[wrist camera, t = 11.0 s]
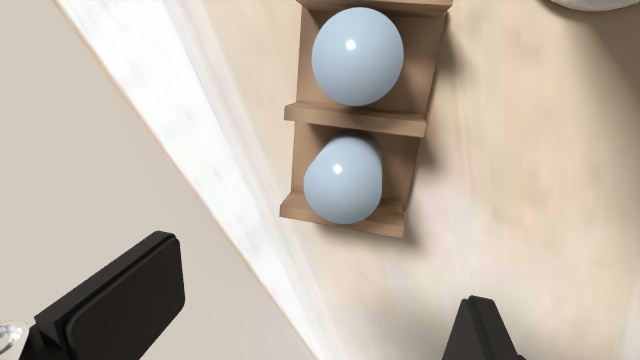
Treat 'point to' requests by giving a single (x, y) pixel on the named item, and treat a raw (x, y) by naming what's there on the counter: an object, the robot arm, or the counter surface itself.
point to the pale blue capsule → (357, 56)
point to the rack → (367, 108)
